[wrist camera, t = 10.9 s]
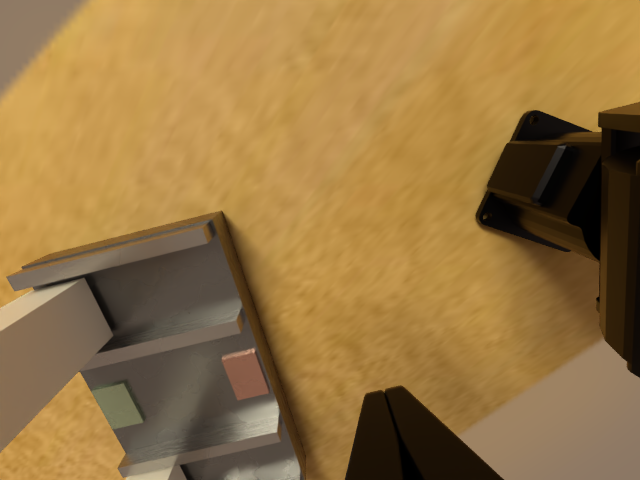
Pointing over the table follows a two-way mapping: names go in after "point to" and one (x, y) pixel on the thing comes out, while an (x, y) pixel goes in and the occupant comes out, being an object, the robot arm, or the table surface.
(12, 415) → the lever
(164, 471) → the on lever
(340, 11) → the table surface
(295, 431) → the box
